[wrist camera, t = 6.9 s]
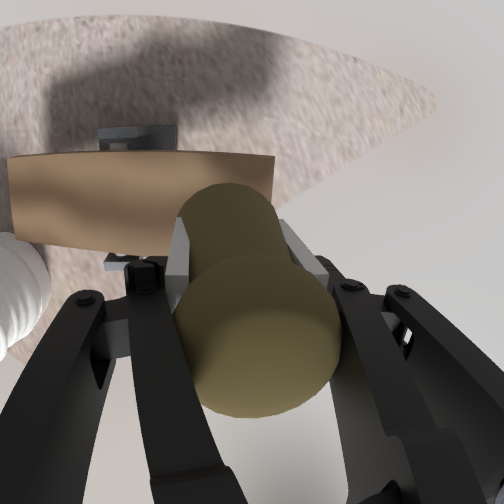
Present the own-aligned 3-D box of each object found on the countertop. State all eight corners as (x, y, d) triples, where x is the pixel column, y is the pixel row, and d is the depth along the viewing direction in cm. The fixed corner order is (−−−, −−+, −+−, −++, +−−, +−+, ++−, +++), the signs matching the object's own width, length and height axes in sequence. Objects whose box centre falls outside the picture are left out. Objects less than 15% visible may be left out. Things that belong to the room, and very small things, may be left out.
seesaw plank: (21, 148, 24) (6, 152, 22) (276, 147, 22) (275, 149, 20) (29, 238, 27) (16, 245, 25) (265, 265, 26) (263, 277, 24)
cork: (194, 166, 16) (188, 240, 6) (297, 205, 18) (412, 310, 8) (159, 267, 18) (132, 426, 8) (255, 296, 20) (309, 448, 10)
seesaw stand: (102, 127, 29) (68, 131, 20) (176, 125, 31) (168, 126, 22) (105, 231, 34) (78, 270, 25) (174, 231, 35) (167, 271, 26)
